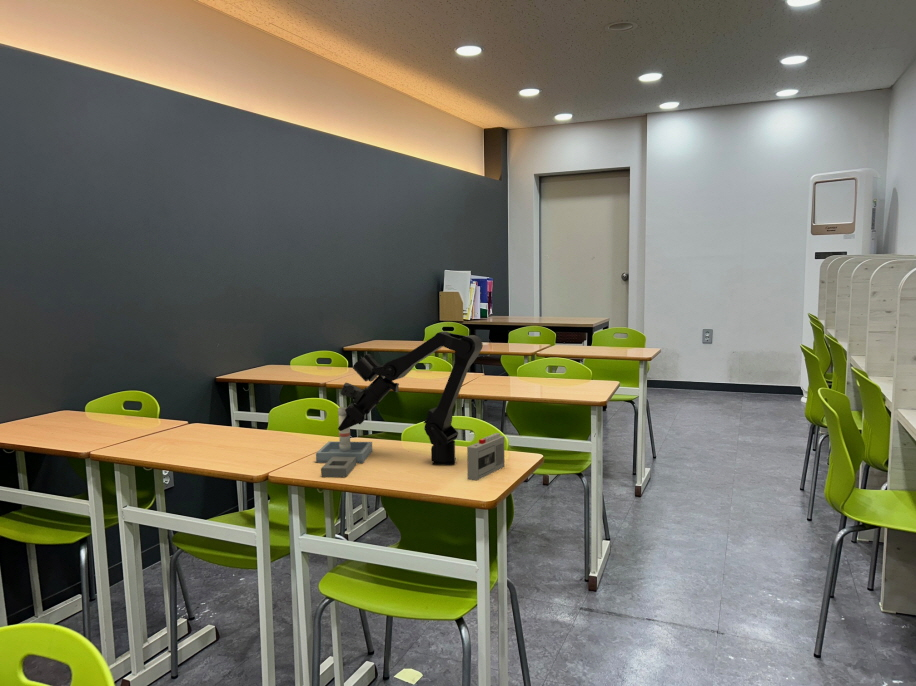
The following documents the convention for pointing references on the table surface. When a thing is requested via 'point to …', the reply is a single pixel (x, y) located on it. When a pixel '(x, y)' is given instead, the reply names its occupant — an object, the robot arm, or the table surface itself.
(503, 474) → the table surface
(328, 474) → the block
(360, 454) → the tray
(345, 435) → the cup
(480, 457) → the cassette player
